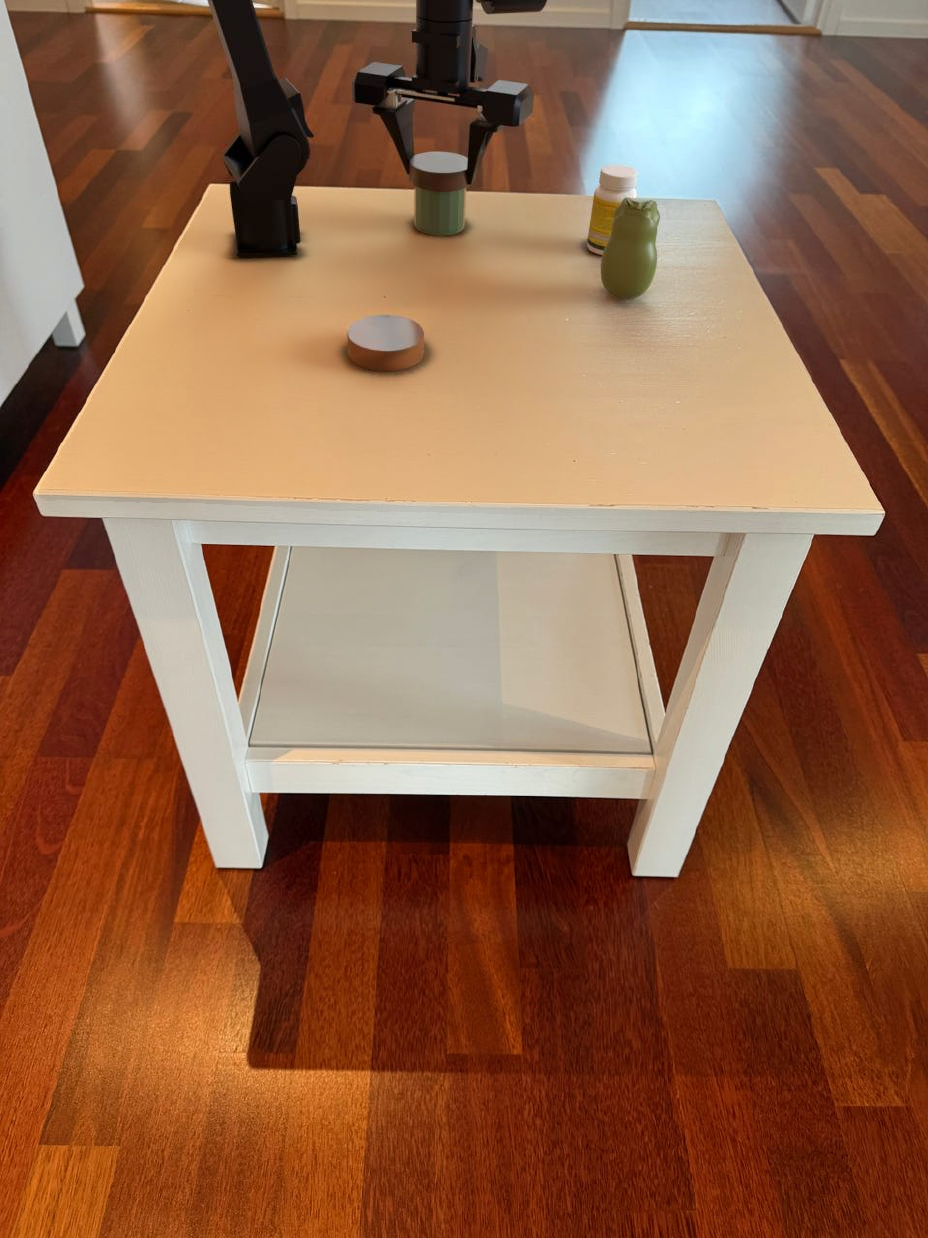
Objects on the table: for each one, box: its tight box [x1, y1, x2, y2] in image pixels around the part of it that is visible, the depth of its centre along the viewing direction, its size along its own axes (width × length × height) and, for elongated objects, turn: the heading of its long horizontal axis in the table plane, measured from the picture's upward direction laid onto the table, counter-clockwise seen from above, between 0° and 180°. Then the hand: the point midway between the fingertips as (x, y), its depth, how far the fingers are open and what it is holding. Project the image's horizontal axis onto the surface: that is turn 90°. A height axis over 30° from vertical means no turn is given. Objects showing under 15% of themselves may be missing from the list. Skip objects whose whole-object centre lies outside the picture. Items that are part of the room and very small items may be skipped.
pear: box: [600, 197, 661, 301], centre depth 92 cm, size 6×5×10 cm
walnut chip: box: [408, 151, 470, 192], centre depth 103 cm, size 7×7×2 cm
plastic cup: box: [413, 185, 467, 237], centre depth 105 cm, size 6×6×5 cm
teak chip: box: [346, 314, 425, 372], centre depth 84 cm, size 7×7×2 cm
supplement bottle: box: [586, 164, 639, 256], centre depth 101 cm, size 5×5×8 cm
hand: (440, 178), depth 103 cm, fingers closed on walnut chip, 7 cm apart
